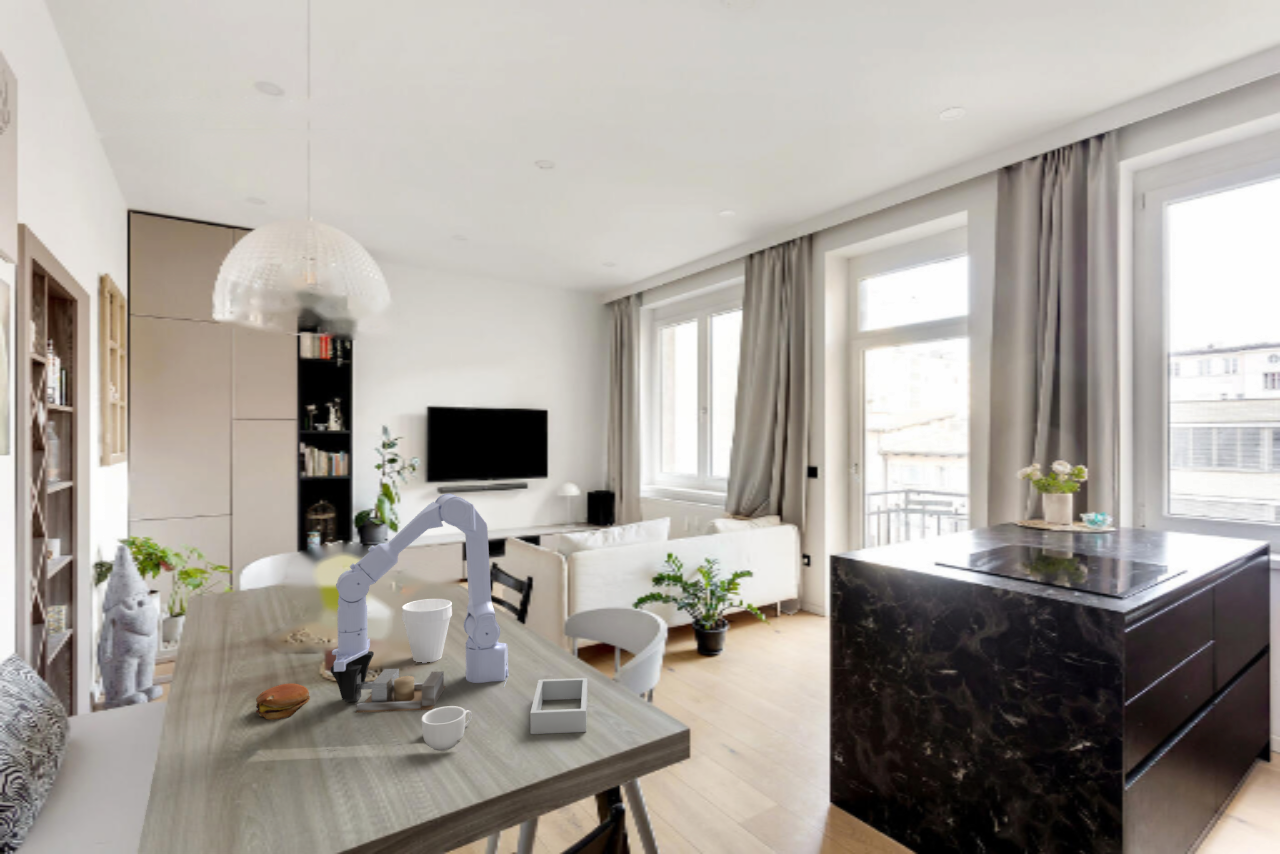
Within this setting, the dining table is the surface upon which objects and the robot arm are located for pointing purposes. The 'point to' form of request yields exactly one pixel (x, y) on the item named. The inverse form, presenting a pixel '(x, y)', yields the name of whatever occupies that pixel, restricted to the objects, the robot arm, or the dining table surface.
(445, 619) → the white plant pot
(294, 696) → the burger
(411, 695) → the nut
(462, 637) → the dining table surface
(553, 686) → the box
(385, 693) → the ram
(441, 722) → the teacup
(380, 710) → the bench
